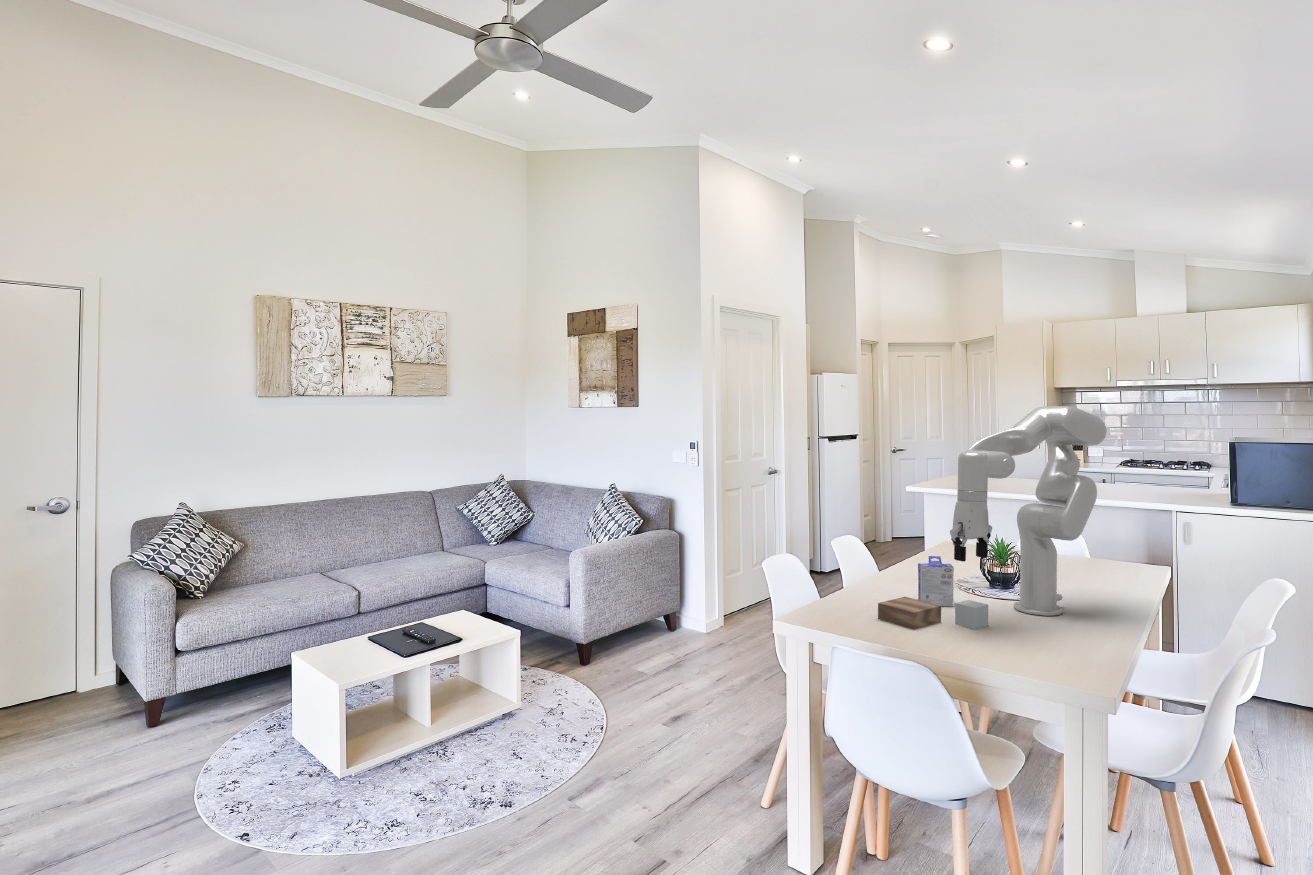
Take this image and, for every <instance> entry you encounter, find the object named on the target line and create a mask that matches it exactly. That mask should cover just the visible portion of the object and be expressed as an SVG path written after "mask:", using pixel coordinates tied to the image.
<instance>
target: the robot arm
mask: <svg viewBox="0 0 1313 875" xmlns="http://www.w3.org/2000/svg"><path fill="white" fill-rule="evenodd" d="M1106 437H1107V425H1106V424H1105V422H1104V420H1102V419H1101V418H1100V417H1098V416H1097V415H1094V414H1092V413H1089V412H1087V411H1085V410H1083V409H1080V408H1078V407H1074V406H1069V405H1067V406H1066V405H1064V406H1063V405H1062V406H1061V405H1059V406H1056V405H1055V406H1053V405H1052V406H1039V407H1037V408H1034V409H1033V410H1031V411H1030V412H1029V413H1027V415H1025V416H1023V418H1021V419H1020V420H1019V421H1018V422H1017V423H1015V424H1014V425H1013V426H1012V427H1010V428H1008V429H1004V430H1003V431H1002V430H1001V431H1000V432H997V433H995V434H992V435H989V436H986V437H985V438H982V439H980V440H979V441H977V442H975V443H974V444H973V445H971V446H970V447H969V448H968V449H967V450H966V451H964V452H961V453H959V455H958V459H957V462H958V463H957V500H956V502H955V506H954V510H953V519H952V521H953V522H952V528H951V529H950V530H949V534H950V537H951V538H950V539H951V541H952V545H953V547H954V548H953V551H954V552H953V559H954V560H955V561H958V562H966V560H967V559H966V558H967V547H966V546H965V545H966V544H967V541H969V540H974V539H975V540H976V542H975V543H976V544H975V557H977V558H983V559H987V558H988V557H989V556H988V555H989V553H988V552H989V549H988V548H989V547H988V546H989V543H990V538H991V534H992V531H993V526H992V525H990V523H989V509H988V489H989V488H988V486H989V485H988V484H989V482H988V481H989V479H1006V478H1008V477H1010V476H1012V474H1013V473H1014V472H1015V468H1016V462H1015V459H1014V457H1015V456H1020V455H1024V454H1025V455H1026V454H1027V453H1030V452H1032V451H1034V450H1035V449H1036V448H1037V447H1038V446H1040V445H1041V444H1042V443H1043V442H1045V443H1046V446H1047V449H1048V460H1047V462H1046V465H1045V468H1044V469H1043V472H1042V474H1041V476H1040V478H1039V480H1038V483H1037V484H1036V488H1035V498H1036V499H1037V500H1038V501H1039V502H1041V503H1038V502H1036V503H1035V502H1031V503H1026V504H1024V505H1023V506H1021V507H1020V508H1019V509H1018V512H1017V515H1016V524H1017V528H1018V533H1019V541H1020V542H1019V543H1020V544H1019V545H1020V547H1019V548H1020V558H1019V559H1020V561H1019V562H1020V563H1019V564H1020V565H1019V567H1020V568H1019V569H1020V570H1019V571H1020V574H1019V582H1020V583H1019V601H1016V602H1014V604H1013V607H1014V609H1015V610H1016V611H1019V612H1021V613H1024V614H1028V615H1036V616H1044V617H1045V616H1047V617H1048V616H1049V617H1051V616H1052V617H1054V616H1059V615H1062V614H1063V610H1064V609H1063V608H1062V607H1061V606H1059V605H1058V604H1057V602H1058V601H1062V600H1063V598H1064V597H1063V594H1060V593H1057V592H1058V591H1057V589H1058V588H1057V586H1058V583H1057V582H1058V551H1057V547H1056V546H1055V543H1054V541H1053V540H1052V539H1056V540H1061V541H1069V542H1070V541H1075V540H1077V539H1078V538H1079V537H1080V536H1081V535H1082V533H1083V532H1084V529H1085V527H1086V525H1087V523H1088V520H1089V518H1090V515H1091V514H1092V511H1093V509H1094V506H1095V504H1096V502H1097V496H1098V488H1097V485H1096V482H1095V481H1094V480H1093V479H1092V478H1091V477H1090V476H1086V475H1081V474H1078V473H1079V471H1080V467H1081V461H1080V458H1079V457H1078V455H1077V453H1076V451H1075V450H1074V449H1073V446H1089V447H1090V446H1097V445H1099V444H1102V442H1104V440H1105V439H1106Z"/></svg>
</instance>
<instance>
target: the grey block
mask: <svg viewBox="0 0 1313 875" xmlns="http://www.w3.org/2000/svg"><path fill="white" fill-rule="evenodd" d="M954 606H955V608H954V613H955V614H954V623H955V625H957V626H960V625H961V627H964V628H968V629H971V630H979V629H982V628H986V627H988V626H989V604H988V603H983V602H979V601H974V600H971V599H966V600H963V601H957V602H955V603H954Z"/></svg>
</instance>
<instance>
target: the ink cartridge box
mask: <svg viewBox="0 0 1313 875" xmlns="http://www.w3.org/2000/svg"><path fill="white" fill-rule="evenodd" d="M932 559H937V560H932ZM954 569H955V568H954V566H953V565H952V564H951V563H942V556H939V555H928V562H927V563H924V562H921V563H919V562H918V563H917V577H918V578H917V581H918V582H917V583H918V586H917V588H918V592H917V593H918V595H917V597H918V599H917V600H920V601H924V602H928V603H932V604H936V605H940V606H941V607H954Z"/></svg>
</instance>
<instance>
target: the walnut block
mask: <svg viewBox="0 0 1313 875" xmlns="http://www.w3.org/2000/svg"><path fill="white" fill-rule="evenodd" d="M877 619H878V620H879V619H880V621H883V622H885V623H886V622H887V623H889V622H890V624H894V625H896V626H900V627H902V628H903V627H904V628H907V629H911V630H918V629H922V628H924V627H925V628H926V627H929V626H931V625H935V624H940V623H942V606H940V605H936V604H932V603H928V602H924V601H920V600H918V599H916V598H911V597H908V596H903V597H902V596H901V597H899V598H894V599H889V600H885V601H880V602H878V603H877Z"/></svg>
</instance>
